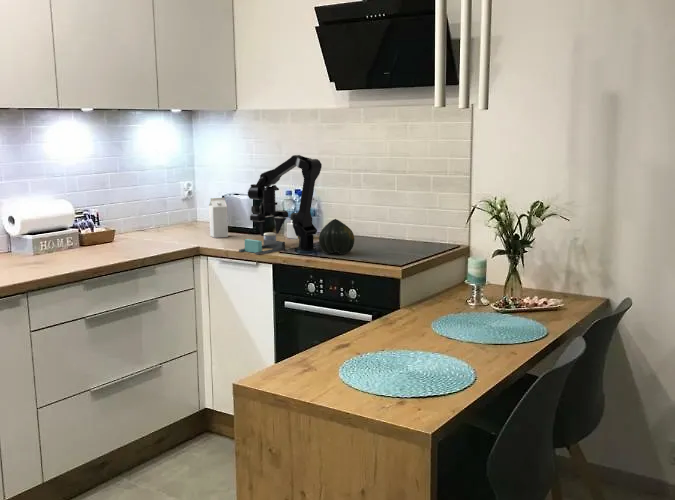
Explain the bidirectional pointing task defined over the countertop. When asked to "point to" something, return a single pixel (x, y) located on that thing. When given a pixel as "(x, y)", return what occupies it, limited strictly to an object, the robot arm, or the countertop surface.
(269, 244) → the gray u-shaped archway
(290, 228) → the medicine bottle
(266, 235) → the jar
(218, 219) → the milk carton
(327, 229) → the squash
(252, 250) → the teal foam pad
